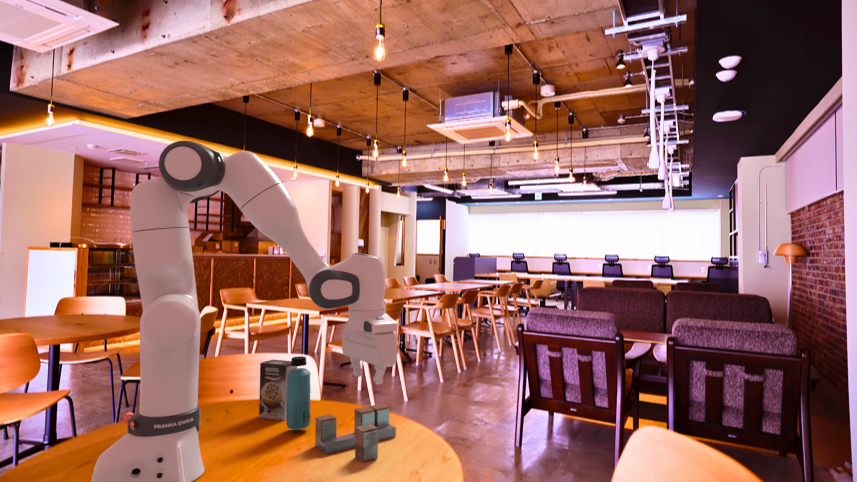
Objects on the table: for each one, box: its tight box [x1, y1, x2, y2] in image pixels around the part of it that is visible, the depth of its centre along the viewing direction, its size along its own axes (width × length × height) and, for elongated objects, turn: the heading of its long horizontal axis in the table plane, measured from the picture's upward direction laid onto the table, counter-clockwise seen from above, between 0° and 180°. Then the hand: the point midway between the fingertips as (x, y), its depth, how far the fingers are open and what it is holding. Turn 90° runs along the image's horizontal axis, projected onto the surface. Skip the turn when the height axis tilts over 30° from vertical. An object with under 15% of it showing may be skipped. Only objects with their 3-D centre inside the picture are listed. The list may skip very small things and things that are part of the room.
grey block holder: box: [314, 403, 397, 456], centre depth 122 cm, size 20×7×7 cm, turn 127°
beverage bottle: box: [285, 355, 312, 430], centre depth 130 cm, size 6×7×20 cm
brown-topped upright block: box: [354, 424, 379, 463], centre depth 112 cm, size 4×4×7 cm
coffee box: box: [258, 359, 298, 421], centre depth 143 cm, size 9×6×16 cm
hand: (367, 379), depth 113 cm, fingers open, 8 cm apart
